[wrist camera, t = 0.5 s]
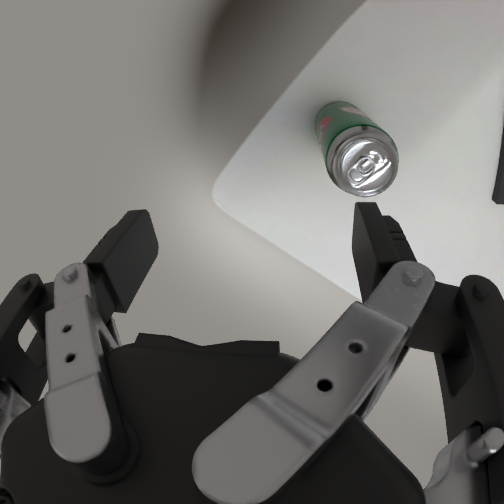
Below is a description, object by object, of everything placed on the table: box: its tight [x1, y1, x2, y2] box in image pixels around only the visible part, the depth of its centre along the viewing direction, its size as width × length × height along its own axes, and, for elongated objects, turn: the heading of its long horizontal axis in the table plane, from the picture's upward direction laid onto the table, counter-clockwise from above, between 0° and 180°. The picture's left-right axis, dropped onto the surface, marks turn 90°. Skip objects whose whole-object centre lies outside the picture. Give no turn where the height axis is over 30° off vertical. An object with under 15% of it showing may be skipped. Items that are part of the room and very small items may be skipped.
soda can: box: [315, 102, 399, 197], centre depth 23 cm, size 5×5×12 cm
